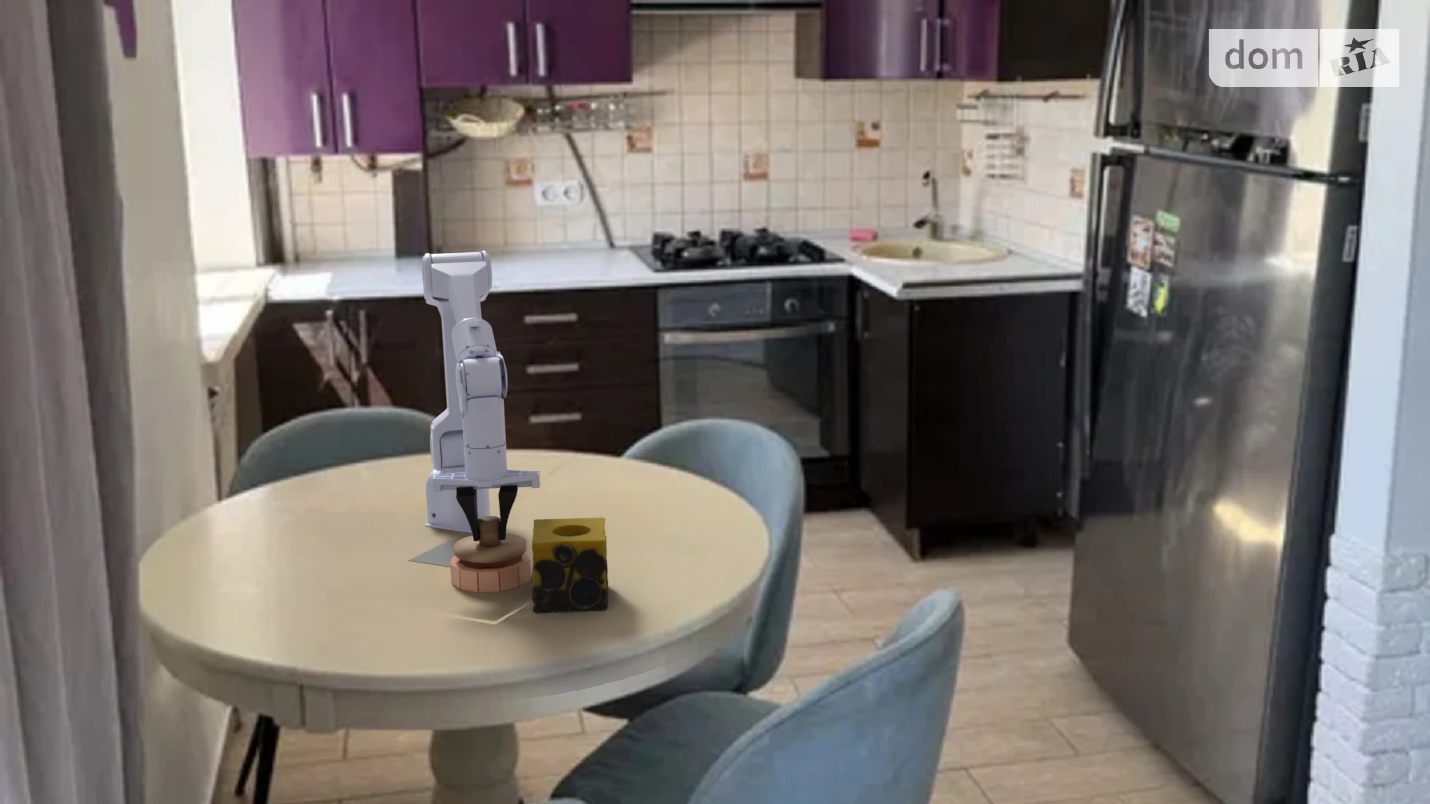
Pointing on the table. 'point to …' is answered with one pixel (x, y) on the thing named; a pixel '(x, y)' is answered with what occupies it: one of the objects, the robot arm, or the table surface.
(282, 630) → the table surface
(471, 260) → the robot arm
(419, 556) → the mat
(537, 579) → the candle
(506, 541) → the lid
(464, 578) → the bowl
